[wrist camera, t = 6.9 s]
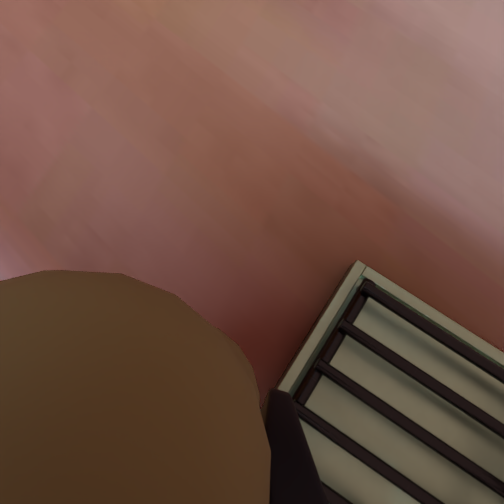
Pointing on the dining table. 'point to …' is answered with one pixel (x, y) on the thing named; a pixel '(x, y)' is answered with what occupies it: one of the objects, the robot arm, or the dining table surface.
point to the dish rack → (398, 399)
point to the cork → (122, 398)
